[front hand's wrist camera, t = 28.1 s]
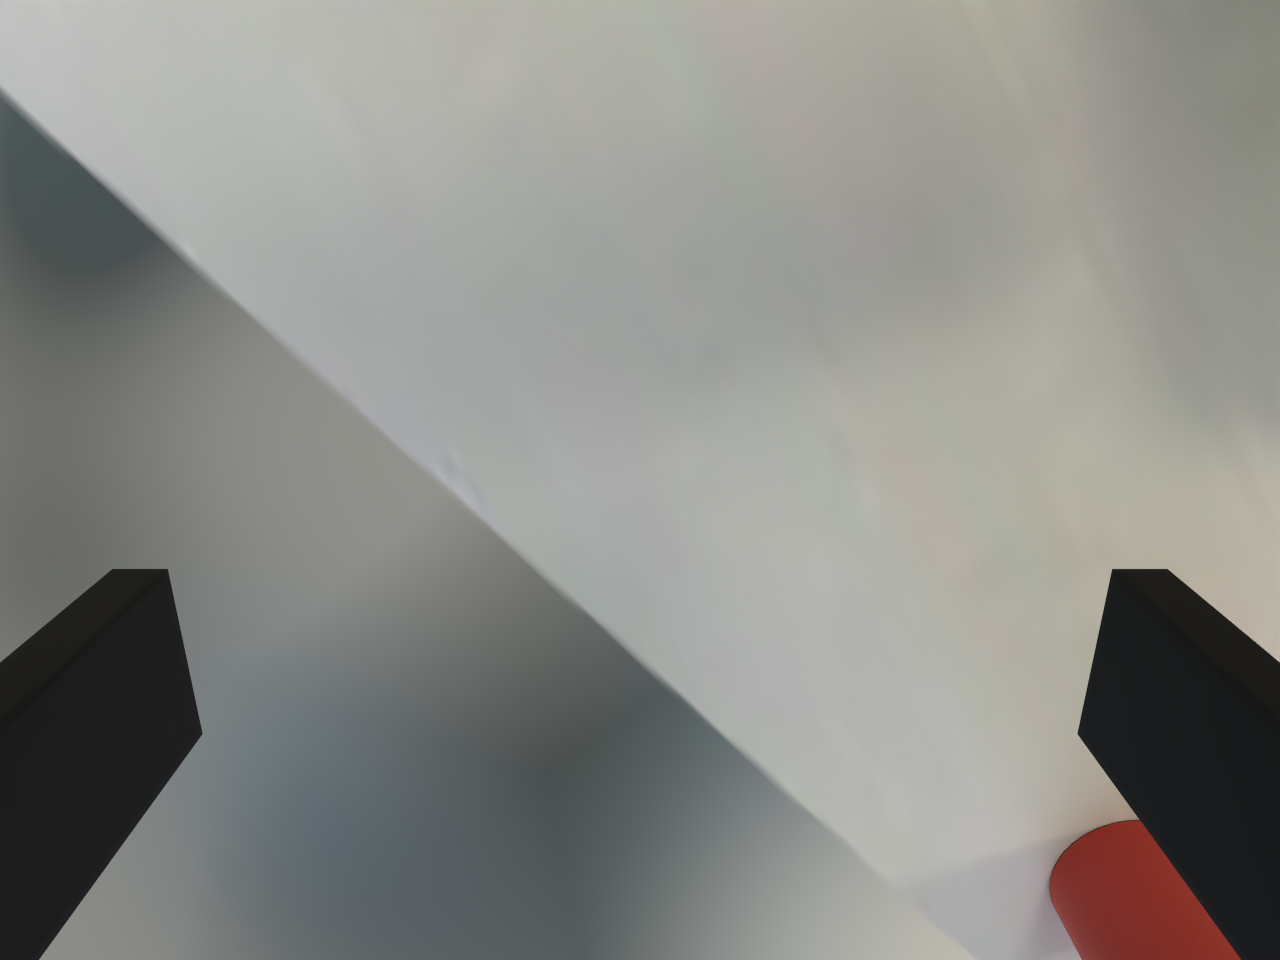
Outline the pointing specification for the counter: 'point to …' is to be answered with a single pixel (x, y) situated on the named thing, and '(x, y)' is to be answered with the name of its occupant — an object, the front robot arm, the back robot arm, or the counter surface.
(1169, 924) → the can
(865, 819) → the counter surface
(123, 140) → the counter surface
